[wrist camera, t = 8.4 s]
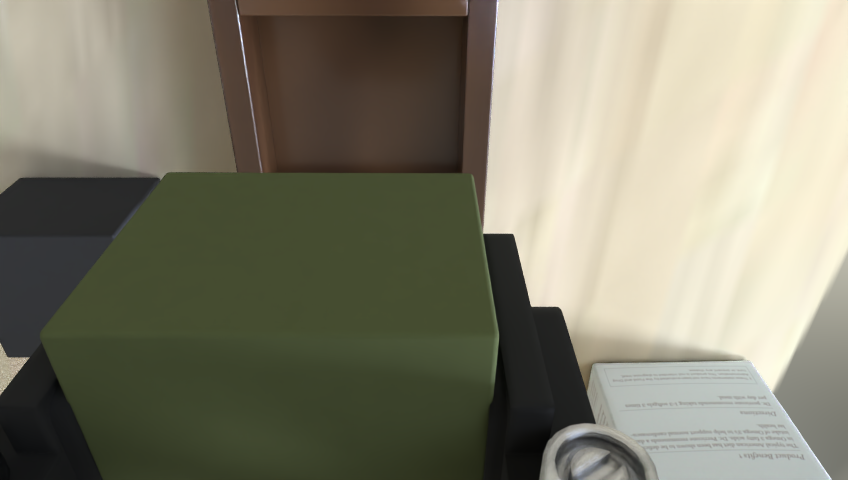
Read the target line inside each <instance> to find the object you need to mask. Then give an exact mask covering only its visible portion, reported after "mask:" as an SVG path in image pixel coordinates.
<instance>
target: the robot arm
mask: <svg viewBox="0 0 848 480" xmlns="http://www.w3.org/2000/svg"><path fill="white" fill-rule="evenodd" d="M483 238H484V244H485V251H486V257H487V263H488V269H489V275H490V282H491V288H492V294H493V300H494V306H495V313H496V319H497V325H498V331H499V344H498V354H497V365H496V375H495V386H494V397H493V401H492V403H491V404H490V408H489V419H488V430H487V441H486V452H485V463H484V475H483V480H659V478H658V474H657V470H656V466H655V464H654V463H653V461H652V459H651V458H650V456H649V454H648V453H647V451H646V450H645V449H643V448H642V447H641V446H640V445H639V444H638V443H637V442H636V441H635V440H634V439H632V438H631V437H629V436H627V435H626V434H624V433H622V432H621V431H619V430H616V429H613V428H610V427H607V426H604V425H599V424H596V421H595V418H594V415H593V411H592V408H591V405H590V402H589V398H588V395H587V392H586V388H585V385H584V382H583V379H582V375H581V372H580V369H579V366H578V362H577V359H576V356H575V352H574V349H573V346H572V343H571V339H570V336H569V333H568V329H567V326H566V323H565V320H564V316H563V314H562V311H561V309H560V308H559V307H531V305H530V301H529V296H528V292H527V288H526V284H525V280H524V276H523V271H522V267H521V263H520V259H519V255H518V250H517V246H516V242H515V238H514V235H513V234H483ZM0 480H103V479H102V477H101V474H100V472H99V470H98V467H97V465H96V463H95V461H94V458H93V456H92V454H91V451H90V449H89V447H88V444H87V442H86V440H85V438H84V435H83V433H82V431H81V428H80V426H79V424H78V422H77V419H76V417H75V415H74V412H73V410H72V408H71V405H70V404H69V403H68V402H67V399H66V397H65V395H64V392H63V390H62V388H61V386H60V383H59V381H58V379H57V376H56V374H55V372H54V370H53V367H52V365H51V363H50V360H49V358H48V356H47V354H46V351H45V349H44V347H43V344H42V342H41V344H40V345H39V346H38V348H37V349H36V350H35V351H34V353H33V354H32V355H31V357H30V358H29V359H28V360H27V362H26V363H25V364H24V366H23V367H22V368H21V369H20V371H19V372H18V373H17V375H16V376H15V377H14V378H13V380H12V381H11V382H10V384H9V385H8V386H7V387H6V389H5V390H4V391H3V393H2V394H1V395H0Z"/></svg>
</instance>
